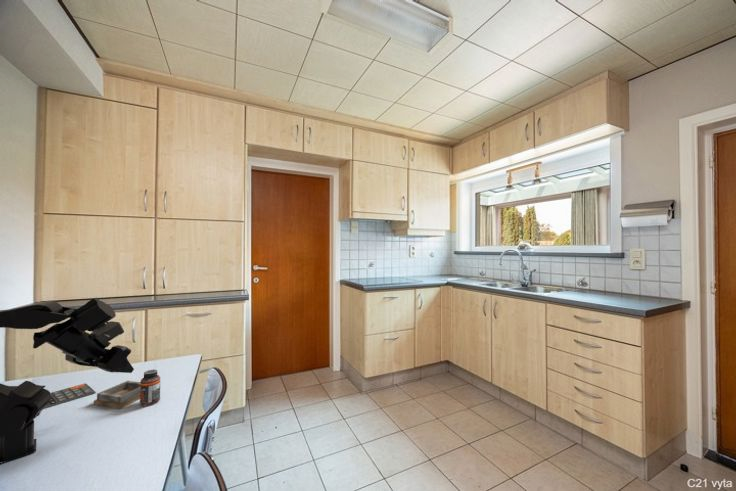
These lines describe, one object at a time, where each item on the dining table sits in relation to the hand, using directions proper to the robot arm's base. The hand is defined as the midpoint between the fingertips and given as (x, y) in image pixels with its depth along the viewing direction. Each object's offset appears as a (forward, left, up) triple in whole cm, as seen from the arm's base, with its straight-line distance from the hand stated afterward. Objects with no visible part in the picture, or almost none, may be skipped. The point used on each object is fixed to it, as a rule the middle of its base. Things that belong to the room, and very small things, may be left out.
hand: (121, 368), depth 86 cm
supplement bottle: (+3, -7, -14) cm, 16 cm away
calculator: (+28, +12, -14) cm, 33 cm away
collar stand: (+12, -2, -13) cm, 18 cm away
